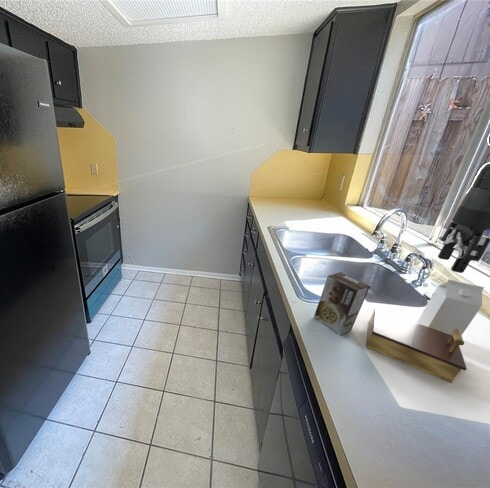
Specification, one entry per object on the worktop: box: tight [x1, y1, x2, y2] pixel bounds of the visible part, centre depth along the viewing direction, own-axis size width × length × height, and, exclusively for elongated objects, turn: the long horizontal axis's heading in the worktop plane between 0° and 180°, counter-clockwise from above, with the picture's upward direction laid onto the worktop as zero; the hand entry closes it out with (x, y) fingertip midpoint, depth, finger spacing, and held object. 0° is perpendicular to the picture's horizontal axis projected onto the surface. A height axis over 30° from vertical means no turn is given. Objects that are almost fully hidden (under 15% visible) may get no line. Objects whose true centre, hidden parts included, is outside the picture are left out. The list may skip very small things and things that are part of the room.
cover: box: [372, 308, 468, 371], centre depth 70 cm, size 18×14×5 cm
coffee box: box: [313, 271, 371, 336], centre depth 79 cm, size 9×6×16 cm
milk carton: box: [416, 278, 485, 336], centre depth 75 cm, size 7×7×19 cm
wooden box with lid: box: [365, 311, 462, 384], centre depth 73 cm, size 18×14×5 cm
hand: (449, 264), depth 70 cm, fingers open, 8 cm apart
